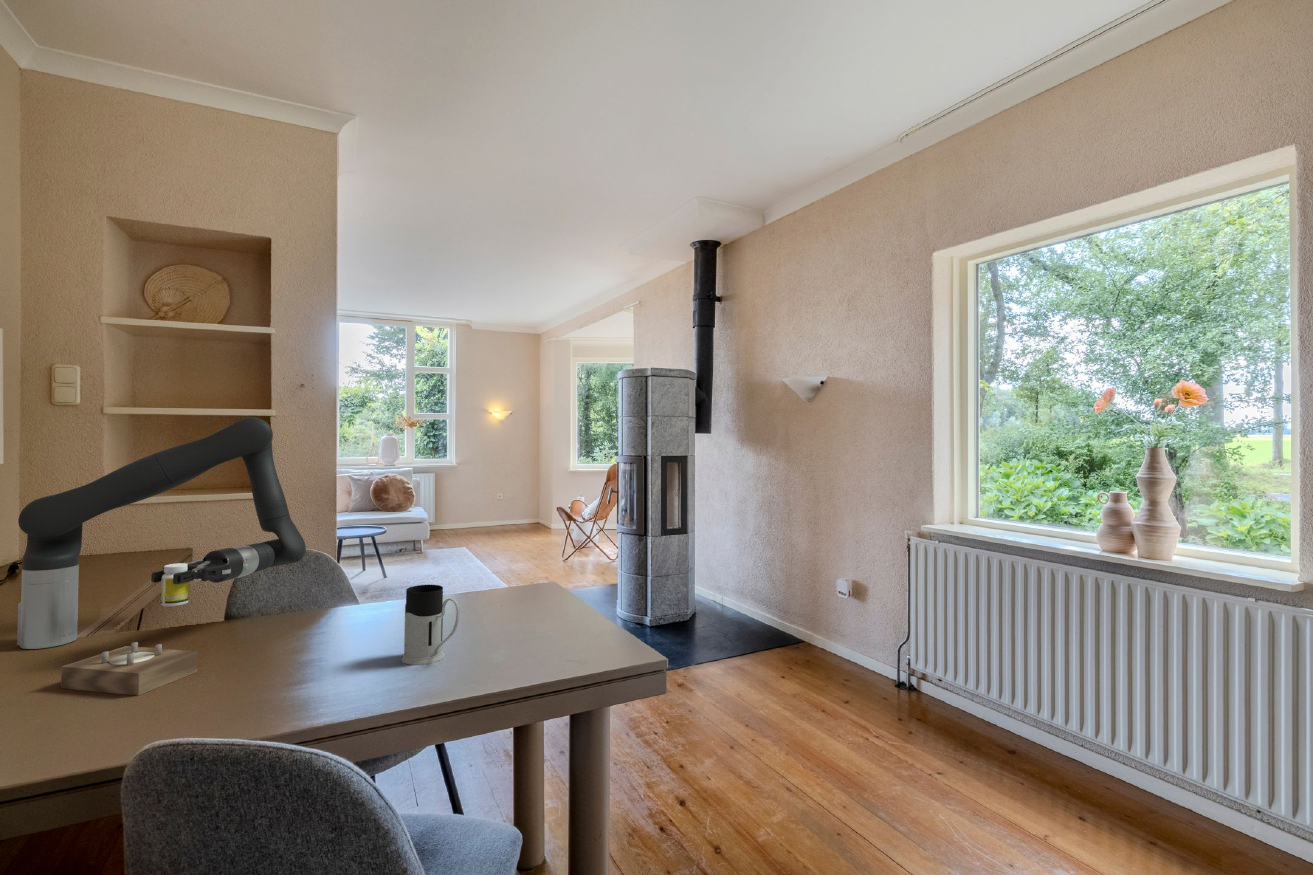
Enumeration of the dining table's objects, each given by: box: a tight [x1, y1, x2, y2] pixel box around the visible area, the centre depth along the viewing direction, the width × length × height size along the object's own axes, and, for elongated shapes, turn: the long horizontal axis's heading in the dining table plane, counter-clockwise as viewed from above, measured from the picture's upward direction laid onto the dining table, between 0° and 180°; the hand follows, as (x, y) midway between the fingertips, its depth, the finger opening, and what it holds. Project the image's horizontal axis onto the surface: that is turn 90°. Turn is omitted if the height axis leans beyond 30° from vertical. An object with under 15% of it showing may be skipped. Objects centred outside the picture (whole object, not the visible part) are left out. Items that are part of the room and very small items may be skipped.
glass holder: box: [401, 584, 461, 666], centre depth 134 cm, size 9×14×15 cm, turn 64°
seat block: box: [60, 641, 199, 697], centre depth 120 cm, size 17×12×6 cm
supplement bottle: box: [160, 562, 190, 607], centre depth 134 cm, size 5×5×8 cm
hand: (164, 578), depth 131 cm, fingers closed on supplement bottle, 4 cm apart
